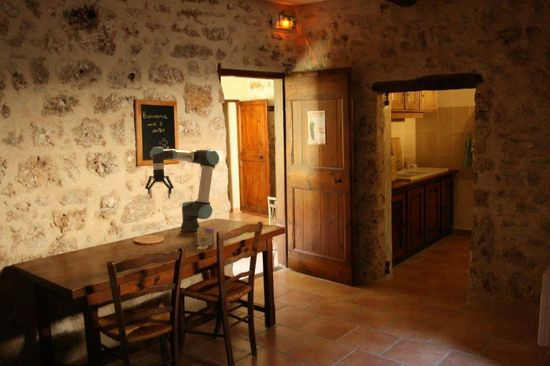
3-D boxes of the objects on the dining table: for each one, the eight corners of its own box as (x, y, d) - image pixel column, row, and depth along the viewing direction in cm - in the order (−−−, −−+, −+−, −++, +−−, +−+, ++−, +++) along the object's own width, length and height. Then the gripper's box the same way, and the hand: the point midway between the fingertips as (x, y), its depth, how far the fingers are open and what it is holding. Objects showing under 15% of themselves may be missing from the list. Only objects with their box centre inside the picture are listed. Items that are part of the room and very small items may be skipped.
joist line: (205, 240, 367) (205, 239, 367) (213, 241, 366) (213, 239, 366) (197, 249, 344) (197, 248, 344) (205, 249, 343) (205, 248, 343)
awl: (200, 246, 347) (199, 233, 346) (201, 245, 350) (200, 232, 349) (205, 246, 346) (204, 233, 345) (206, 245, 350) (205, 232, 349)
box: (214, 243, 359) (213, 227, 357) (212, 245, 353) (211, 228, 352) (199, 243, 360) (199, 227, 359) (197, 245, 354) (197, 228, 353)
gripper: (139, 169, 358) (141, 199, 360) (174, 169, 355) (175, 199, 358) (143, 168, 365) (144, 197, 368) (177, 168, 363) (178, 197, 365)
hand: (160, 198), depth 363 cm, fingers open, 13 cm apart
